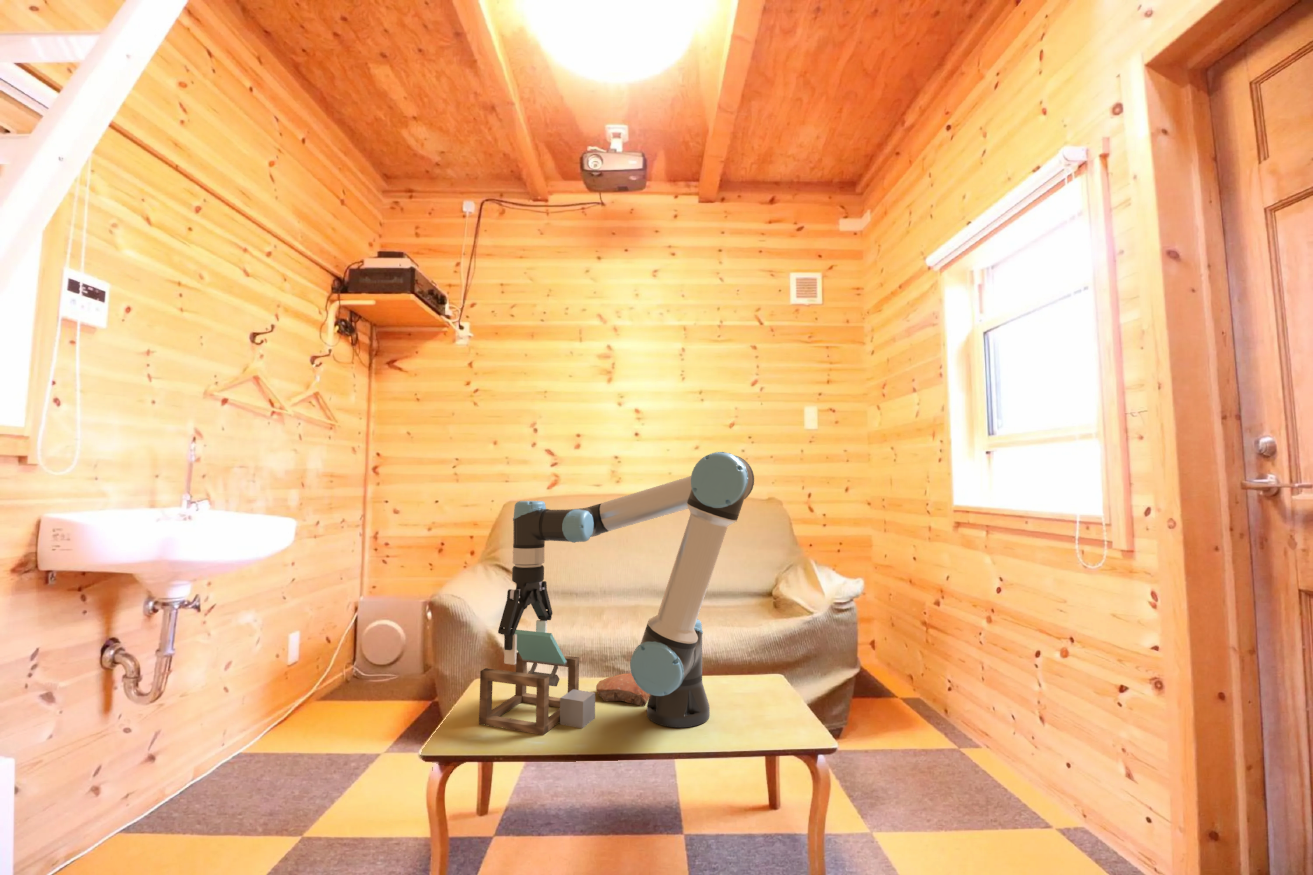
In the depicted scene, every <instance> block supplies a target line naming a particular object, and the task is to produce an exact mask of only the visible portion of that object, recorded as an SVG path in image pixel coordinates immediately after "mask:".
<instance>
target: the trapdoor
mask: <svg viewBox="0 0 1313 875" xmlns="http://www.w3.org/2000/svg"><path fill="white" fill-rule="evenodd" d="M515 634H517V652H519V654H520V656H521V657H522V660H523V661H530V662H539V663H547V664H555V665H564V666H567V661H566V659H565V657H564V656H565V655H564V654H563V652H562V650H561V648H560V646H559V644H558V643H557V641H556V639H555V637H554V635H553V633H552V632H547V633H544V632H536V631H532V630H522V629H516V631H515ZM530 662H529V663H530ZM547 664H546V665H547ZM555 665H553V668H552V671H551V672H550V673H547V672H539V671H536V669H537V667H538V663H532V666H531V668H530V670H529V671H528V672H527V674H534V675H542V676H549V687H555V688H556V687H558V684H559V682H560V677H559V675H558V674H557V671H558V669H559V666H555Z"/></svg>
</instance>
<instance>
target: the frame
mask: <svg viewBox="0 0 1313 875" xmlns="http://www.w3.org/2000/svg"><path fill="white" fill-rule="evenodd" d="M563 656H564V657H565V659H566V661H567V666H564V665H555V664H547V663H539V662H530V661H523V660H522V657H521V656H520V654H519V652H518V651H517V654H516V664H515V671H511V670H503V669H494V668H487V667H486V668H483V669H481V670H480V671H479V672H480V673H479V674H480V675H479V676H480V678H479V679H480V681H479V707H478V708H479V710H478V711H479V712H478V724H479V725H480V724H485V725H484V726H486V725H489V726H488V727H492V726H495V727H494V728H498V727H503V728H502V729H504V728H507V729H506V730H511V731H518V732H522V733H523V732H524V733H529V734H534V735H540V736H541V735H542V736H545V735H546V734H547V733H548V732H549V731H550V730H552V729H553V728H554V727H555V726H557V725H558V724H560V698H561V697H558V696H550V686H549V676H542V675H534V674H528V672H527V671H528V663H532V664H533V663H537V665H538V664H539V665H540V664H541V665H549V666H554V665H555V666H558V667H564V668H565V667H566V668H568V669H567V693H568V692H570V691H571V690H573V689H575V690H580V688H579V686H580V657H578V656H571V655H570V656H569V655H563ZM494 682H495V683H501V684H502V683H503V684H509V685H515V689H514V691H515V693H514V694H515V695H513V696H510V697H509V698H508V699H506V700H505V701H504V702H501V703H500V704H499V705H497V706H496V707H494V708H493V683H494ZM527 687H530V688H536V694H535V693H527ZM521 703H526V704H527V703H528V704H533V705H535V706H536V708H535V711H536V712H535V721H529V720H523V719H517V718H510V717H504V715H505V714H506V713H507V712H509V711H510V710H512V709H513V708H515V707H517V706H518V705H520V704H521ZM549 707H554V708H558V709H557V710H556V711H554V712H553V713H552V714H550V715H549Z"/></svg>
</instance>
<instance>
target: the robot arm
mask: <svg viewBox="0 0 1313 875" xmlns="http://www.w3.org/2000/svg"><path fill="white" fill-rule="evenodd" d="M754 485H755V475H754V471H753V469H752V467H751V465H750V464H749V463H748V462H747V460H745V458H742V457H740V456H737V455H735V454H732V453H730V452H725V451H716V452H712V453H710V454H707V455H704V457H702V458H700V460H699V461H697V462H696V464H695V466H694V467H693V469H692V471H691V475H690V476H687V477H683V478H680V479H677V480H673V481H670V482H666V483H664V484H663V483H662V484H659V485H657V486H653V487H651V488H646V489H644V490H641V491H636V492H634V493H630V494H628V495H624V496H620V497H617V498H613V499H611V500H608V501H603V502H601V503H597V504H593V505H590V506H587V507H582V508H572V509H571V508H570V509H568V508H567V509H551V508H547V507H546V503H545V501H544V500H520V501H516V502H515V503H514V508H513V518H512V522H513V523H512V524H513V541H512V542H513V544H512V564H513V566H512V568H511V570H512V571H511V574H512V575H511V581H512V582H513V583H514V584H515V586H516V587H515V589H510V588H509V589H508V590H507V594H506V601H505V605H504V609H503V612H502V616H501V620H500V623H499V626H498V630H497V631H498V633H497V634H498V635H499V634H500V635H503V636H504V645H503V646H504V647H503V649H504V653H503V654H504V656H503V657H504V659H503V661H504V662H503V664H506V665H511V666H512V665H514V666H516V654H517V652H518V651H517V634H515V631H516V630H518V629H517V628H518V626H519V623H520V621H521V619H522V616H523V613H524V611H525V610H527V609H528V606H530V605H531V607H532V608H533V610H534V613H535V615H536V617H537V620H535V632H544V633H548V621H551V620H552V618H553V617H552V615H553V609H552V608H553V607H552V605H551V601H550V597H549V594H548V588H547V586H548V585H547V581H544V579H545V567H544V565H543V564H544V563H545V542H549V541H551V542H567V543H568V542H570V543H581V542H582V543H585V542H588V541H589V540H590V538H592V537H597V536H599V535H603V534H604V533H608V532H612V531H614V530H618V529H621V528H622V529H623V528H625V527H628V526H632V525H636V524H639V523H642V522H646V521H651V520H654V519H657V518H661V517H663V516H668V515H670V514H671V515H672V514H675V513H677V512H681V511H682V512H683V511H684V510H685V511H686V510H689V513H690V514H689V517H688V521H687V523H686V527H685V530H684V533H683V535H682V539H681V542H680V545H679V548H678V552H677V554H676V556H675V557H676V558H675V561H674V564H673V566H672V570H671V573H670V576H669V578H668V582H667V584H666V588H665V591H664V593H663V597H662V600H661V603H660V607H659V609H658V612H657V615H655V616H653V617H650V618H649V619H648V621H647V623H646V627H645V630H644V633H643V636H642V638H641V641H640V644H638V646H636V647H635V648H634V650H633V652H632V654H631V657H630V661H629V667H630V668H629V669H630V673H631V674H632V676H633V678H634V680H635V682H636V684H637V685H638V686H639V687H640V688H641V689H642V690H643V691H645V692H646V693H648V694H650V697H649V699H648V701H647V703H646V715H647V716H646V717H647V719H649V721H651V722H653V723H654V724H657V725H660V726H663V727H668V728H690V727H692V728H693V727H697V726H700V725H702V724H704V723H705V722H707V721H708V720H709V718H710V716H711V715H710V714H711V713H710V703H709V701H708V700H709V699H708V696H707V694H706V690H705V687H704V684H703V633H704V631H703V625H702V621H701V620H700V619H698V618H699V615H700V612H701V608H702V606H703V603H704V599H705V596H706V594H707V591H708V587H709V584H710V581H711V578H712V576H713V572H714V570H715V566H716V564H717V561H718V557H719V555H720V552H721V551H720V550H721V548H722V545H723V543H724V539H725V535H726V533H727V529H728V527H729V526H730V525H732V524H735V523H736V522H738V518H739V516H740V514H741V510H742V507H743V504H744V502H745V501H744V500H746V499H747V498H748V497H749V495H750V494H751V493H752V491H753V489H754Z"/></svg>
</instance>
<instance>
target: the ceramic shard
mask: <svg viewBox="0 0 1313 875" xmlns="http://www.w3.org/2000/svg"><path fill="white" fill-rule="evenodd" d="M595 690H596V692H597V693H596V694H597V695H598V696H600V698H602V699H603V700H602V701H603V702H621V701H622V702H625V703H627V704H633V705H637V706H640V705H641V707H642V706H643V705H644V706H643V707H645V706H647V704H648V700H649V697H650V694H648V693H646V692H645V691H643V690H642V689H641V688H640V687H639V686H638V685H637V684H636V682H635V680H634V678H633V676H632V674H631V672H629V673H619V674H616V675H612V676H609V677H607V678H603V679H601V680H598V683H597V684H596V688H595Z"/></svg>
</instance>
